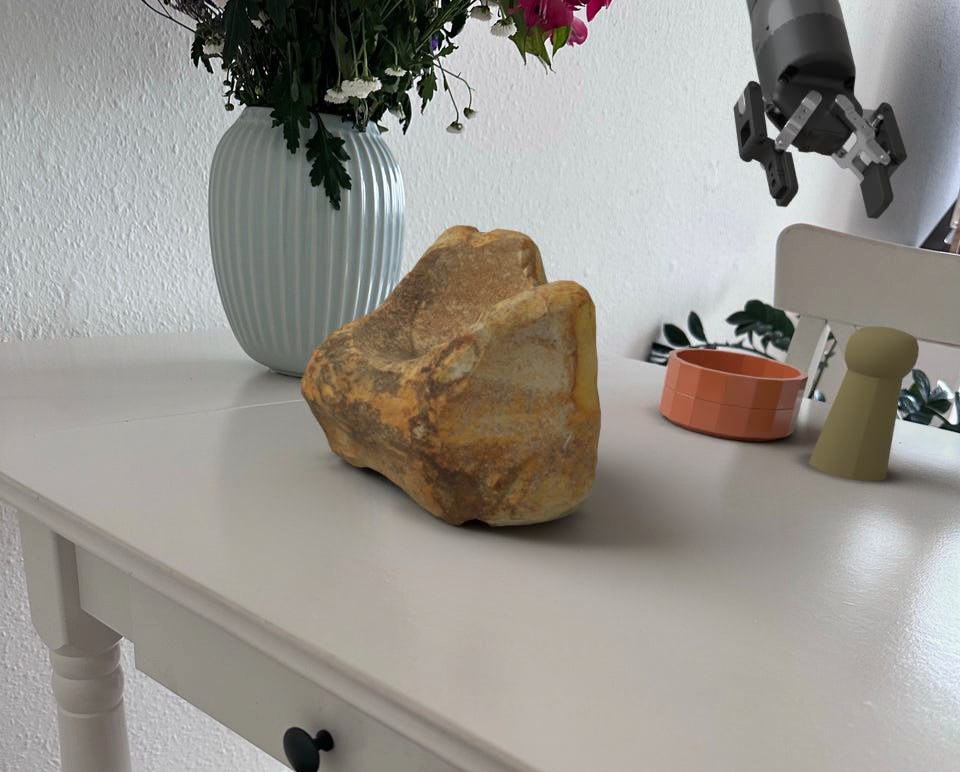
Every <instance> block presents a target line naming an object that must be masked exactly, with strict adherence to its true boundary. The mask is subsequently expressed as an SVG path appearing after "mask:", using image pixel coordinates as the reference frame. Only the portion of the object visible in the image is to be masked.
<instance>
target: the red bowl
mask: <svg viewBox="0 0 960 772" xmlns="http://www.w3.org/2000/svg"><path fill="white" fill-rule="evenodd" d="M808 379H809V375H808V373H807V372H806V371H805V370H804V369H801V368H799V367H797V366H795V365H793V364H790V363H787V362H782V361H780V360H776V359H772V358H768V357H764V356H758V355H754V354H749V353H744V352H736V351H730V350H724V349H723V350H722V349H713V348H712V349H711V348H700V347H699V348H698V347H697V348H693V347H691V348H677V349H673V350H670V351H669V352H668V358H667V362H666V368H665V373H664V377H663V383H662V387H661V392H660V396H659V402H658V412H659V413H660V414H661V415H663V416H665V417H666V418H667V419H668V420H669V421H670V422H672V423H673V424H675V425H677V426H679V427H681V428H684V429H686V430H689V431H693V432H697V433H700V434H704V435H708V436H712V437H717V438H724V439H729V440H737V441H745V442H747V441H749V442H768V441H769V442H770V441H774V440H777V439H780V438H786V437H788V436H790V435H791V434H793V433H795V432H794V431H795V428H796V426H797V425H796V424H797V421H798V417H799V413H800V410H801V405H802V402H803V399H804V394H805V391H806V387H807V383H808Z"/></svg>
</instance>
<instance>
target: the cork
mask: <svg viewBox="0 0 960 772" xmlns="http://www.w3.org/2000/svg"><path fill="white" fill-rule="evenodd" d="M919 349H920V348H919V343H918V339H917V338H916V337H915V336H914V335H912V334H911V333H908V332H906V331H904V330H900V329H898V328H893V327H888V326H881V325H880V326H879V325H878V326H862V327H859V328H858V329H855V331H854V332H853V333H852V334H851V335H850V337H849V339H848V340H847V342H846V345H845V349H844V362H845V365H846V368H847V369H846V371H845V375H844V377H843V380H842V381H841V384H840V387H839V389H838V391H837V394H836V396H835V398H834V401H833V403H832V406H831V408H830V410H829V413H828V415H827V417H826V420H825V422H824V424H823V427H822V429H821V431H820V434H819V436H818V439H817V440H816V444H815V446H814V448H813V451H812V453H811V454H810V455H811V456H810V458H809V460H808V464H809V465H810V466H811V467H813V468H815V469H816V470H817V471H821V472H823V473H825V474H828V475H831V476H835V477H839V478H843V479H849V480H854V481H861V482H863V481H864V482H878V481H879V482H881V481H883V480H886V478H887V473H888V467H889V461H890V454H891V449H892V444H893V438H894V432H895V426H896V421H897V414H898V409H899V404H900V396H901V391H902V386H903V380H904V378H905V377H907V376H908V375H909V374H910V373H911V372H912V371H913V368H914V367H915V366H916V364H917V361H918V358H919V353H920V351H919Z"/></svg>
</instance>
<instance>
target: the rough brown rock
mask: <svg viewBox="0 0 960 772" xmlns="http://www.w3.org/2000/svg"><path fill="white" fill-rule="evenodd" d="M596 311H597V310H596V305H595V302H594V300H593V299H592V296H591V294H590V292H589V290H588V289H587V288H586V287H584V286H583V285H581V284H580V283H578V282H576V281H574V280H568V279H567V280H565V279H564V280H555V281H551V282H550V281H549V282H548V278H547V274H546V271H545V266H544V262H543V258H542V254H541V250H540V248H539V246H538V244H536V243H535V241H534V240H533V239H532V238H531V237H530V236H529V235H527V234H525V233H523V232H521V231H518V230H511V229H505V228H495V229H492V230H490V231H486V232H485V231H480V230H479V229H478V228H477V227H476V226H473V225H463V224H457V225H454V226H453V225H452V226H451V227H449V228H446V229H445V230H444V231H443V232H442V233H441V234H440V235H438V236H437V238H436V239H435V241H434V242H433V243H432V244H431V245H430V246H428V248H427V249H426V250H425V251H424V252H423V254H422V255H421V256H420V258H419V259H418V260H417V262H416V263H415V265H414V266H413V268H412V269H411V271H408V273H406V274H405V275H404V276H403V278H402V279H401V280H400V281H399V282H398V283H397V285H396V286H395V287H394V288H393V290H392V291H391V292H390V293H389V295H388V296H387V297H386V298H385V299H384V300H383V301H382V302H381V303H380V304H379V305H378V306H377V307H376V308H375V310H373V311H370V312H369V313H366V314H365V315H363V316H361V317H359V318H357V319H355V320H352V321H349V322H346V323H344V324H343V325H342V326H340V327H338V328H337V329H335V330H334V331H333V332H331V333H330V334H329V335H328V336H327V338H325V339H324V341H323V342H321V343H320V344H319V345H318V346H317V347H316V348H315V349H314V351H313V352H312V354H311V357H310V359H309V362H308V364H307V366H306V368H305V371H304V373H303V375H302V378H301V379H300V380H301V382H300V395H301V396H302V398H303V399H304V401H305V402H306V403H307V405H308V407H309V409H310V412H311V414H312V415H313V417H314V419H315V420H316V421H317V423H318V425H319V426H320V428H321V429H322V431H323V433H324V436H325V437H326V441H327V443H328V446H329V448H330V450H331V452H332V453H333V454H335V455H336V456H338V457H339V458H340V459H342V460H343V461H345V462H346V463H348V464H349V465H351V466H353V467H357V468H369V469H372V470H374V471H375V472H377V473H380V474H382V475H383V476H384V477H386V478H387V479H388V480H390V481H391V482H392V483H394V484H395V485H397V486H398V487H400V489H402V490H403V491H404V492H405V493H406V494H407V495H408V496H409V497H410V498H411V499H412V500H413V501H414V502H416V503H417V504H418V505H419V506H420V507H422V508H423V509H424V510H426V511H427V512H429V513H430V514H432V515H433V516H435V517H437V518H438V519H440V520H442V521H445V522H446V523H448V524H450V525H452V526H461V525H462V524H464V523H465V522H467V521H472V520H479V521H481V522H483V523H486V524H487V525H489V526H490V527H506V526H514V527H515V526H529V525H536V524H540V523H546V522H551V521H554V520H558V519H562V518H565V517H567V516H569V515H571V514H572V513H574V512H576V511H577V510H578V509H580V508H581V507H582V506H583V505H584V504H585V503H586V502H588V498H589V497H590V495H591V494H592V492H593V487H594V483H595V479H596V473H597V471H596V470H597V465H598V448H599V443H600V435H601V429H602V409H601V402H600V395H599V389H598V375H599V360H598V359H599V358H598V349H597V314H596V313H597V312H596Z"/></svg>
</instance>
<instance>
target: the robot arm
mask: <svg viewBox="0 0 960 772" xmlns="http://www.w3.org/2000/svg"><path fill="white" fill-rule="evenodd" d="M745 4H746V8H747V13H748V18H749V22H750V23H749V24H750V31H751V33H750V34H751V48H752V54H753V59H754V64H755V68H756V74H757V77H758V82H757V81H755V80H750V81H748V82H747V84H746V86H745V88H744V89H743V90H742V93H741V94H740V95H739V97H738V99H737V100H736V102H735V104H734V106H733V115H734V123H735V133H736V140H737V141H736V142H737V148H738V149H737V150H738V157H739V158H740V159H741V160H742V161H743V162H744V163H751V162H752V161H753V160H754V161H756V162H758V163H759V166H760V168H761V169H762V170H764V172H765V176H766V181H767V186H768V192H769V195H770V196H771V198H772V199H773V200H774V201H775V205H776V206H777V207H781V208H787V207H788V206H789V205H790V204H791V202H792V201H793V199H794V198H795V197H796V196H797V194H798V192H799V186H800V185H799V182H798V175H797V172H796V167H795V162H794V158H793V153H792V151H788V148H789V147H790V146H792V147H793V148H796V149H797V152H799V153H805V154H809V153H816V154H819V155H821V156H827V157H830V158H831V159H832V160H834V162H835V163H836V164H837V165H838V166H839V167H840V168H841V169H843V170H845V169H849V170H850V171H851V172H852V173H853V174H854V175H855V177H857V179H859V181H860V183H859V186H860V190H861V195H862V201H863V204H864V208H865V209H864V210H865V213H866V217H867V218H868V219H874V220H878V219H879V218H880V217H881V216H882V215H883V214H884V212H885V211H887V209H888V208H889V207H890V205H891V204H892V203H893V201H894V197H895V196H894V192H893V188H892V184H891V177H892V176H893V174H894V173H895V172H896V171H897V169H899V167H900V166H902V164H903V163H904V162H905V161H906V160H907V158H908V154H907V151H906V147H905V144H904V141H903V139H902V135H901V131H900V127H899V125H898V121H897V119H896V115H895V111H894V109H893V107H892V105H891V104H890V103H888V102H886V101H883V102H881V103H880V104H879V106H878V107H876V109H868V108H863V106H862V104H861V103H860V102H859V100H858V98H857V97H856V95H855V85H856V78H857V70H856V64H855V59H854V55H853V52H852V46H851V43H850V38H849V33H848V31H847V27H846V23H845V18H844V15H843V10H842V7H841V6H842V5H841V3H840V1H839V0H745ZM766 118H767V119H768V121H769V122H770V123H771V124H772V125H773V126H774V127H775V128H776V129H777V131H779V133H778V135H777V137H776V138H775V139H773V138H771V137H769V136H768V127H767V120H766ZM852 134H855V137H856V140H855V143H854V144H853V145H852V147H851V148H850V149H849V150H848V151H847V150H846V149H845V147H844V146H845V145H846V143H847V142H848V140H849V139H850V138H851V136H852ZM863 153H865V154H866V156H868V158H869V159H870V162H869V163H868V164H866V163H865V161H864V160H862V158H861V155H862V154H863Z"/></svg>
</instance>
